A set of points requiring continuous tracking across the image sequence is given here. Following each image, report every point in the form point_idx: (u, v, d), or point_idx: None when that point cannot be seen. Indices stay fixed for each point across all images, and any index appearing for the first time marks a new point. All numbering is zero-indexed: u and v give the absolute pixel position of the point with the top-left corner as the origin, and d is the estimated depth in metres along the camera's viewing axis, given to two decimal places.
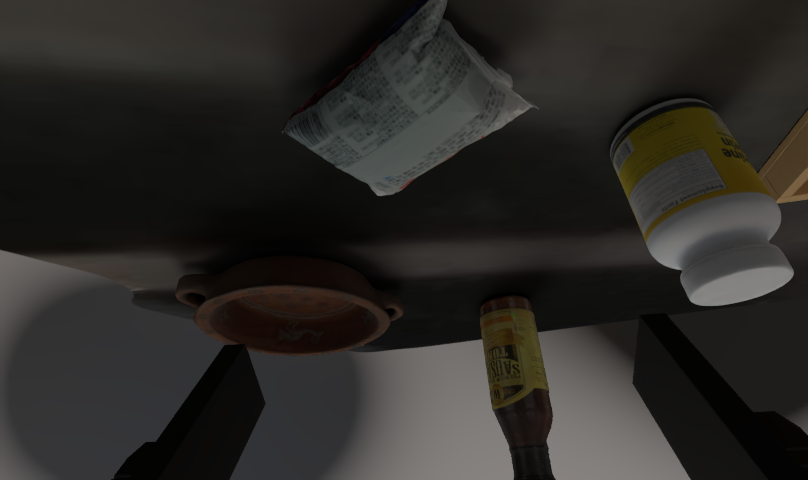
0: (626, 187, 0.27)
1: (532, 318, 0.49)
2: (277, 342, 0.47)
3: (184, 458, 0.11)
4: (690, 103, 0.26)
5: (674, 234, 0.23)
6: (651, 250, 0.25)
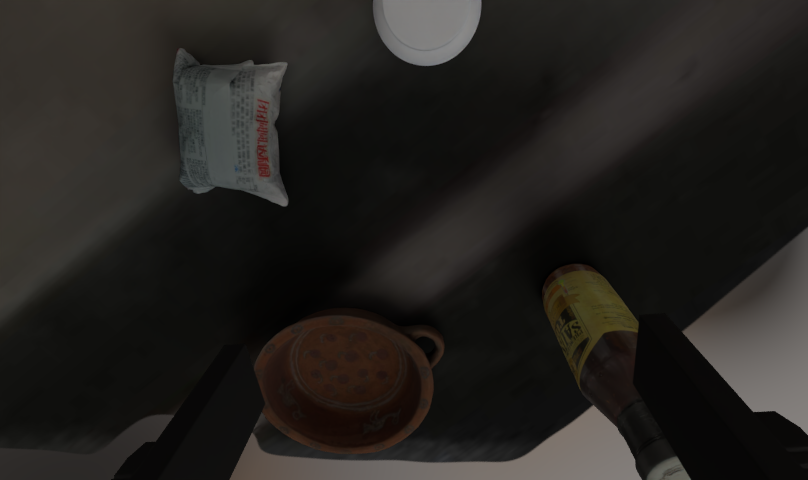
0: None
1: (592, 275, 0.38)
2: (363, 436, 0.46)
3: (184, 458, 0.11)
4: None
5: (380, 29, 0.26)
6: (405, 60, 0.26)
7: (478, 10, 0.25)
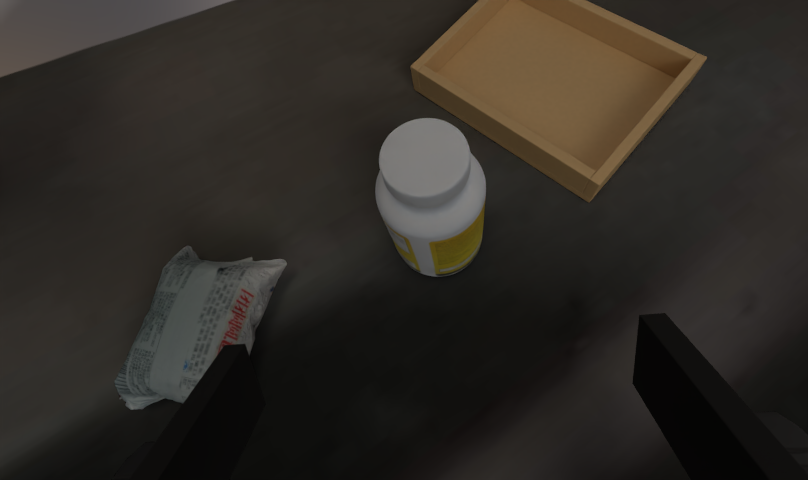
0: (405, 254, 0.28)
1: None
2: None
3: (184, 458, 0.11)
4: None
5: (379, 201, 0.24)
6: (403, 231, 0.24)
7: (482, 187, 0.24)
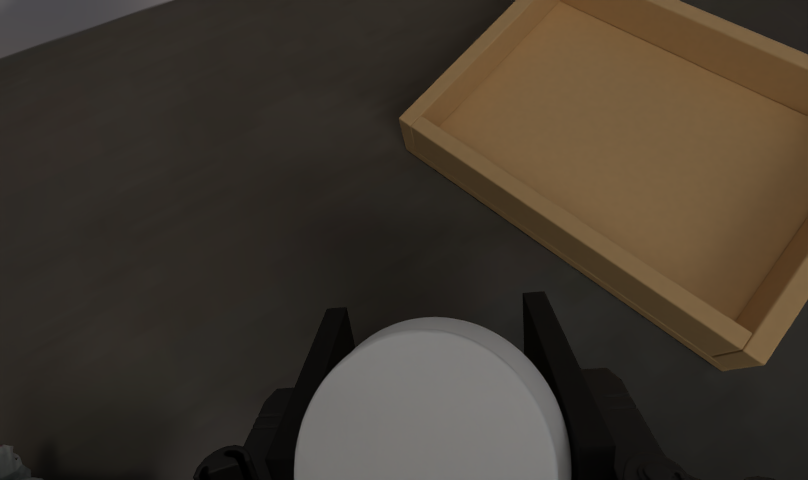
0: None
1: None
2: None
3: None
4: None
5: None
6: None
7: (567, 471, 0.10)
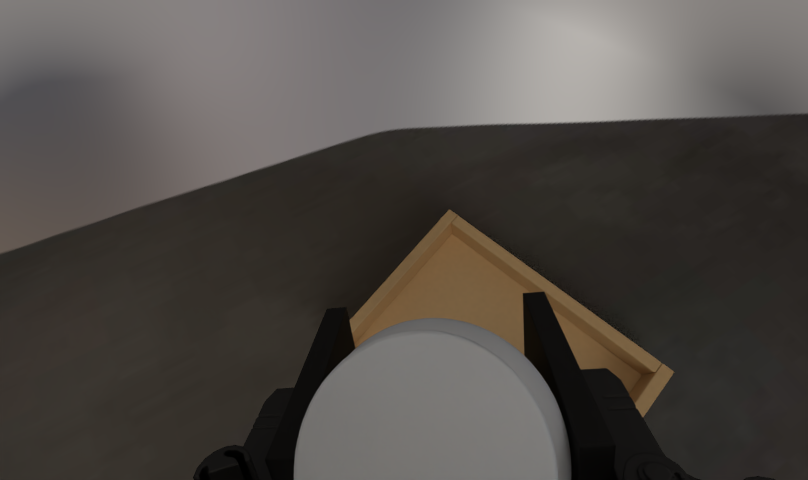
0: None
1: None
2: None
3: None
4: None
5: None
6: None
7: (567, 472, 0.10)
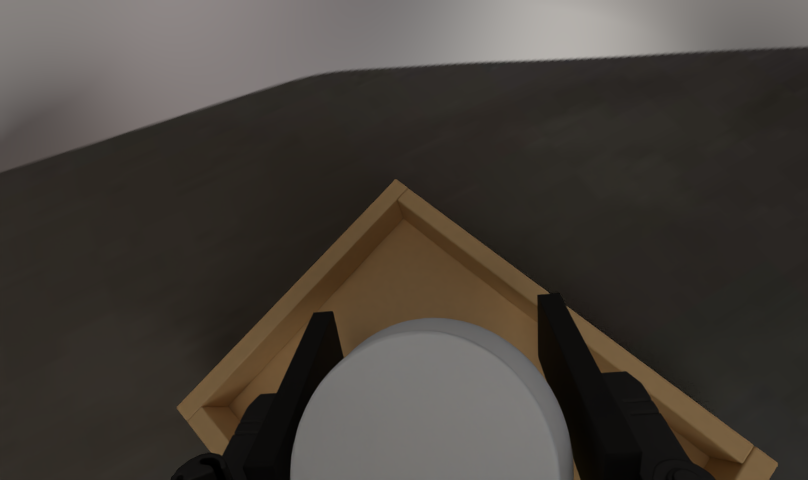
0: None
1: None
2: None
3: (304, 404, 0.12)
4: None
5: None
6: None
7: (569, 475, 0.09)
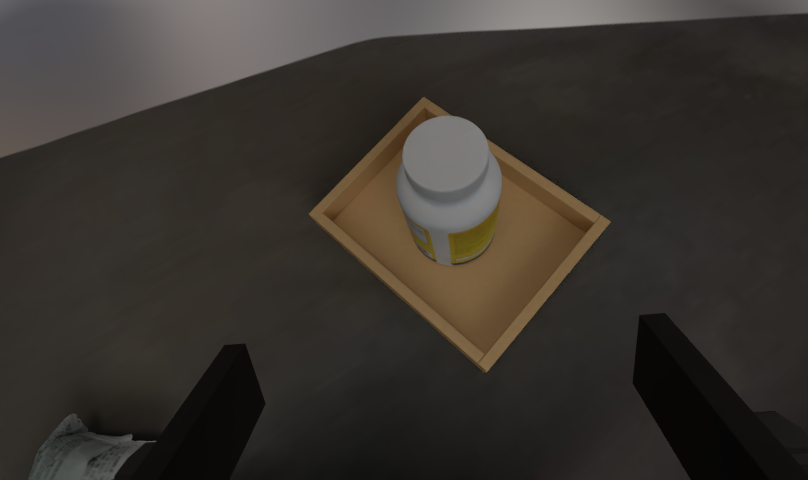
0: (423, 244, 0.29)
1: None
2: None
3: (184, 458, 0.11)
4: None
5: (400, 194, 0.26)
6: (423, 224, 0.25)
7: (499, 181, 0.25)
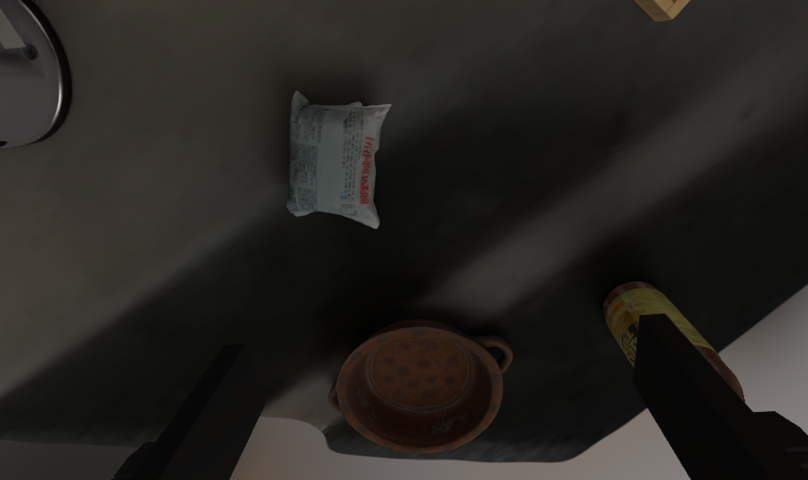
0: None
1: (654, 293, 0.42)
2: (432, 437, 0.50)
3: (184, 458, 0.11)
4: None
5: None
6: None
7: None
